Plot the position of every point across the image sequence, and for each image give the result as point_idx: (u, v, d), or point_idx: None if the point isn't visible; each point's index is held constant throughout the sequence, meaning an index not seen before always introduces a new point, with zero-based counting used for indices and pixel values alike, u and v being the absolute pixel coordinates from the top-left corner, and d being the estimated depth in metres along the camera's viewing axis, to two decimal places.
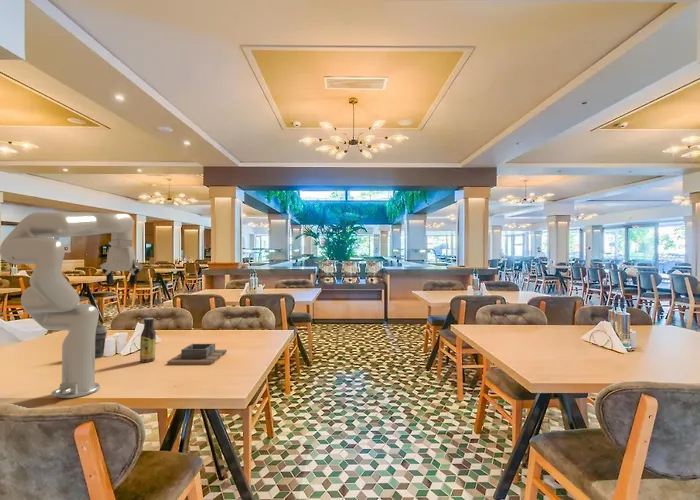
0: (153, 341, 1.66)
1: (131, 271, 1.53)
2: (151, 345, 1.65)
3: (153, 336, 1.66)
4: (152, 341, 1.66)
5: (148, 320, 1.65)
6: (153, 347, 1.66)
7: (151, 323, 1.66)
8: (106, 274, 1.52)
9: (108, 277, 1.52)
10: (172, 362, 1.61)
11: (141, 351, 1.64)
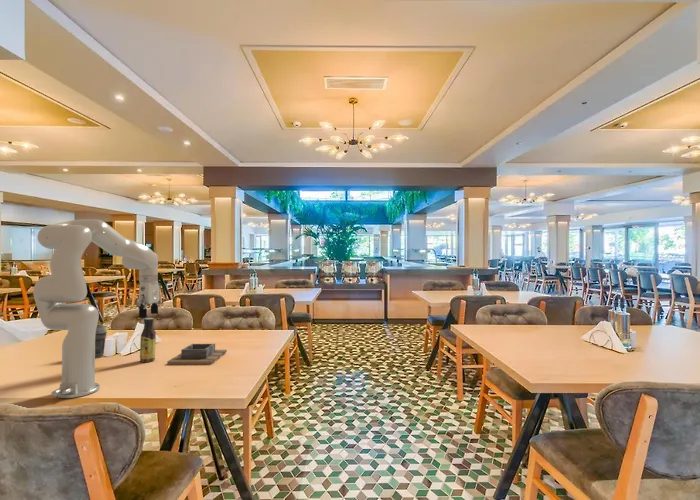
0: (153, 341, 1.66)
1: (157, 302, 1.73)
2: (151, 345, 1.65)
3: (153, 336, 1.66)
4: (152, 341, 1.66)
5: (148, 320, 1.65)
6: (153, 347, 1.66)
7: (151, 323, 1.66)
8: (145, 308, 1.62)
9: None
10: (172, 362, 1.61)
11: (141, 351, 1.64)
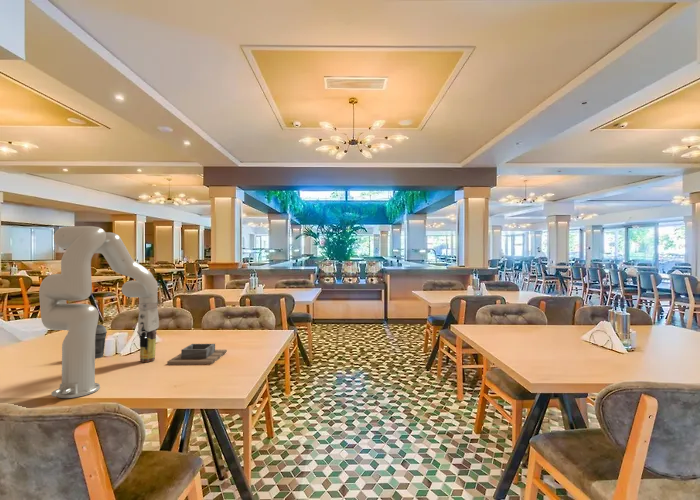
0: (153, 341, 1.66)
1: (155, 330, 1.71)
2: (151, 345, 1.66)
3: (153, 336, 1.66)
4: (152, 341, 1.66)
5: None
6: (153, 347, 1.67)
7: None
8: (146, 337, 1.63)
9: None
10: (172, 362, 1.61)
11: (141, 351, 1.65)
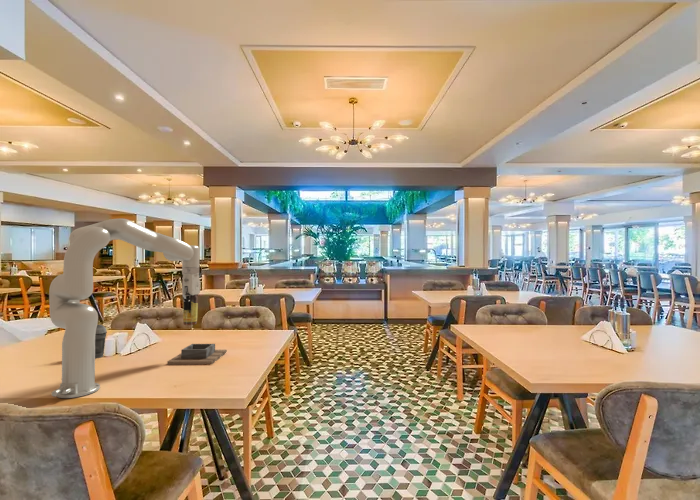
0: (196, 305, 1.70)
1: None
2: (194, 309, 1.69)
3: (196, 300, 1.70)
4: (195, 305, 1.70)
5: None
6: (196, 311, 1.70)
7: None
8: (189, 300, 1.67)
9: None
10: (172, 362, 1.61)
11: (185, 314, 1.68)
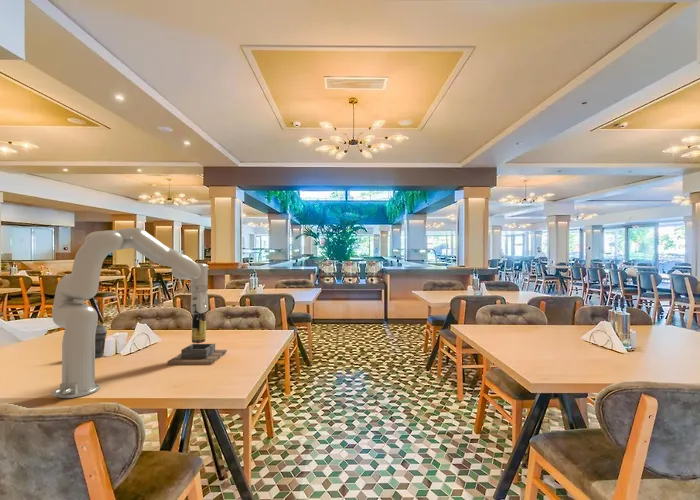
0: (204, 323, 1.71)
1: None
2: (203, 326, 1.70)
3: (204, 318, 1.71)
4: (203, 323, 1.70)
5: None
6: (204, 329, 1.71)
7: None
8: (198, 318, 1.68)
9: None
10: (172, 362, 1.61)
11: (193, 332, 1.69)
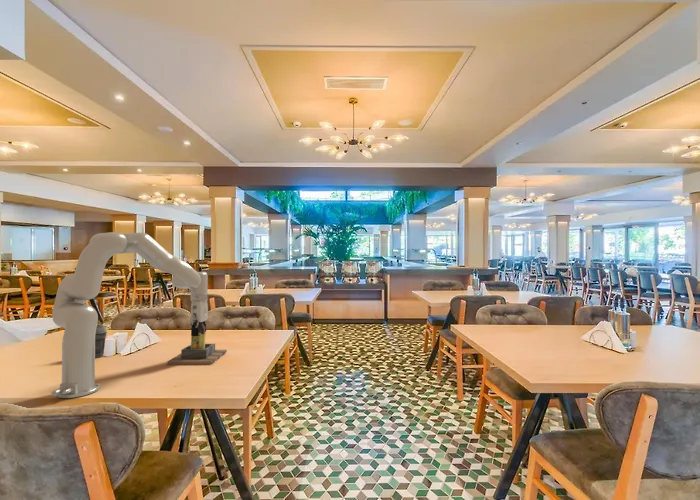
0: (203, 336, 1.70)
1: (205, 320, 1.76)
2: (202, 340, 1.69)
3: (203, 331, 1.70)
4: (202, 336, 1.70)
5: None
6: (203, 342, 1.70)
7: None
8: (197, 326, 1.66)
9: None
10: (172, 362, 1.61)
11: (192, 345, 1.68)
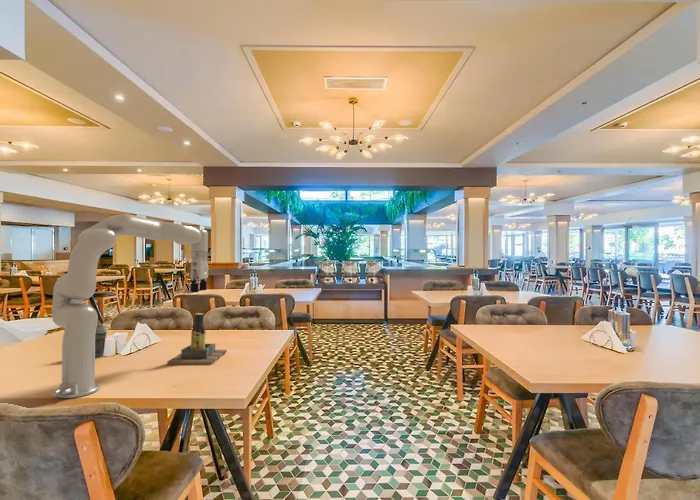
0: (203, 336, 1.70)
1: (205, 278, 1.77)
2: (202, 340, 1.69)
3: (203, 331, 1.70)
4: (202, 336, 1.70)
5: (199, 315, 1.69)
6: (203, 342, 1.70)
7: (201, 318, 1.70)
8: (197, 282, 1.66)
9: None
10: (172, 362, 1.61)
11: (192, 345, 1.68)
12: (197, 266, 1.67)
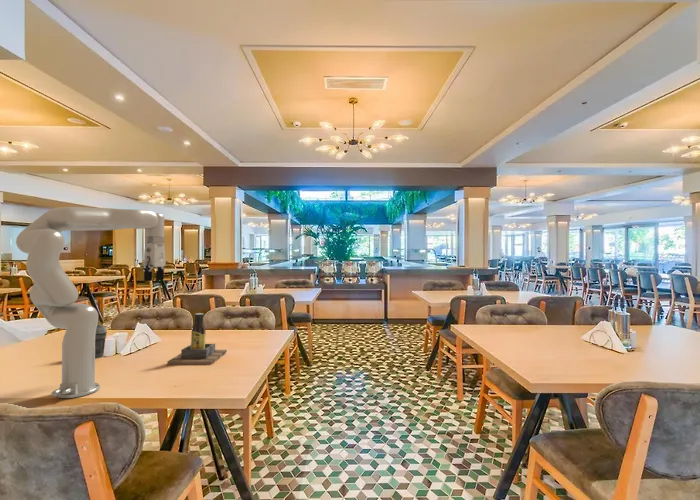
0: (203, 336, 1.70)
1: (163, 267, 1.63)
2: (202, 340, 1.69)
3: (203, 331, 1.70)
4: (202, 336, 1.70)
5: (199, 315, 1.69)
6: (203, 342, 1.70)
7: (201, 318, 1.70)
8: (150, 270, 1.52)
9: None
10: (172, 362, 1.61)
11: (192, 345, 1.68)
12: (151, 252, 1.53)
